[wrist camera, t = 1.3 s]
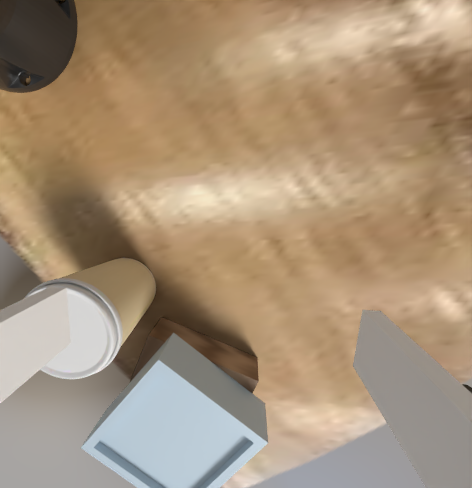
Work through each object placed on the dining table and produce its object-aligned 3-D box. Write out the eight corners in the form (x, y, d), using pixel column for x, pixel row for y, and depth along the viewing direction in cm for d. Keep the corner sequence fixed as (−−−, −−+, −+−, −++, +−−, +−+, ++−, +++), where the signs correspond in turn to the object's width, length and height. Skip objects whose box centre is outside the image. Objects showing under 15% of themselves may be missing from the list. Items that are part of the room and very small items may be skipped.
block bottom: (130, 396, 38) (112, 426, 33) (162, 315, 35) (148, 335, 30) (217, 432, 38) (213, 467, 33) (257, 355, 35) (258, 381, 30)
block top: (106, 409, 32) (80, 447, 27) (173, 332, 30) (158, 359, 25) (193, 472, 33) (184, 520, 28) (264, 403, 31) (268, 442, 26)
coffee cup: (79, 286, 34) (-11, 335, 22) (121, 236, 33) (49, 259, 21) (133, 332, 35) (74, 401, 23) (177, 285, 33) (138, 334, 22)
